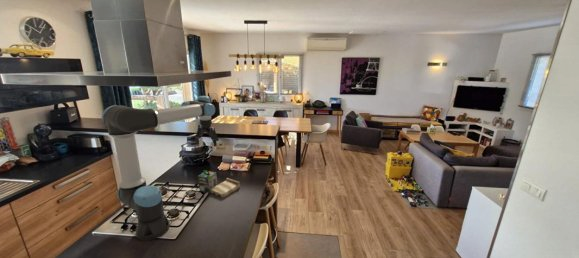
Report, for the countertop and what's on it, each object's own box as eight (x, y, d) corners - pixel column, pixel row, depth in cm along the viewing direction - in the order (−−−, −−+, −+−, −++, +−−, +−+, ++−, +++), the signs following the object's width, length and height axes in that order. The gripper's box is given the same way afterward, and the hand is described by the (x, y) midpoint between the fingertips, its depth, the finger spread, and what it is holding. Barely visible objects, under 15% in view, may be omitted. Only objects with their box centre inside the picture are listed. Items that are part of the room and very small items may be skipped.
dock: (223, 198, 150) (222, 192, 148) (210, 192, 155) (210, 186, 154) (239, 187, 163) (239, 181, 162) (227, 183, 169) (227, 177, 168)
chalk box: (218, 187, 163) (216, 168, 159) (209, 193, 155) (208, 173, 151) (207, 184, 166) (206, 166, 162) (198, 190, 158) (196, 171, 154)
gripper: (222, 120, 151) (224, 150, 156) (198, 115, 163) (200, 143, 169) (213, 122, 145) (216, 153, 150) (188, 117, 157) (191, 146, 162)
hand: (207, 148), depth 159 cm, fingers open, 13 cm apart
